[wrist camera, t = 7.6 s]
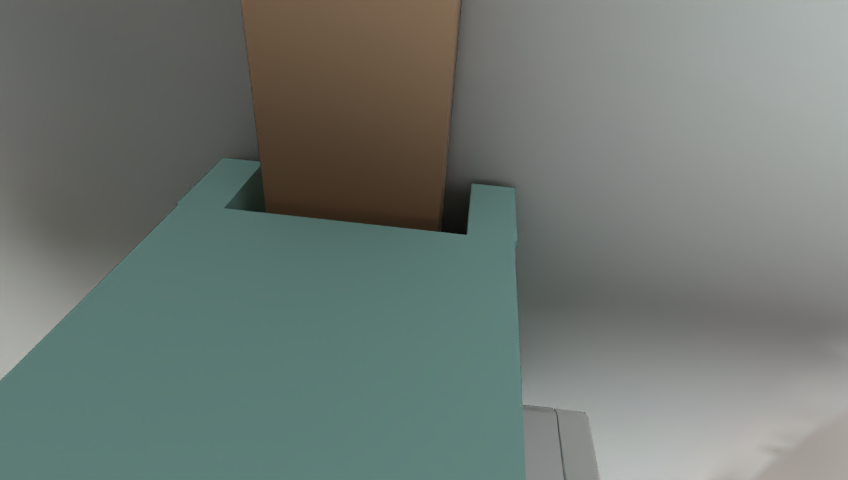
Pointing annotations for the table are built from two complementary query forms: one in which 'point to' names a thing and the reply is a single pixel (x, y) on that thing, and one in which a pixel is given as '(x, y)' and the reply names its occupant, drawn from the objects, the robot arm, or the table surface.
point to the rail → (353, 106)
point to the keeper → (281, 351)
